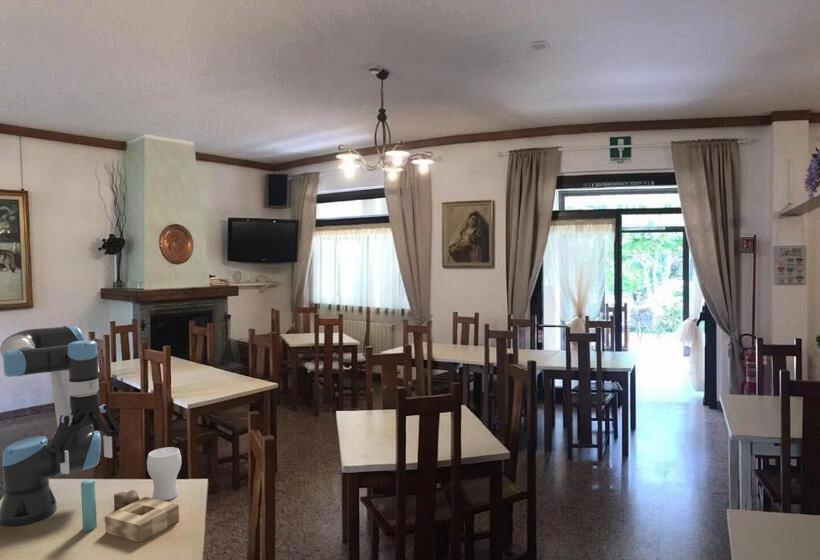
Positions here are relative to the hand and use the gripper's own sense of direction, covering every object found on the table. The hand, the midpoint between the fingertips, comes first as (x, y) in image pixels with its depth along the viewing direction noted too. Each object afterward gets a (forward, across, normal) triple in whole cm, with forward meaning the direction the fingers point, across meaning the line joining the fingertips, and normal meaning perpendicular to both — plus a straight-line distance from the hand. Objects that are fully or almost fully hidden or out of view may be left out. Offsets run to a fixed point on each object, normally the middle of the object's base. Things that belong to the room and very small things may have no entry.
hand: (87, 464), depth 165 cm
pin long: (+19, 0, 0) cm, 19 cm away
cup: (+19, +25, -3) cm, 32 cm away
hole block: (+19, +7, -14) cm, 25 cm away
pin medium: (+18, +14, -2) cm, 23 cm away
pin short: (+19, +12, +2) cm, 23 cm away
